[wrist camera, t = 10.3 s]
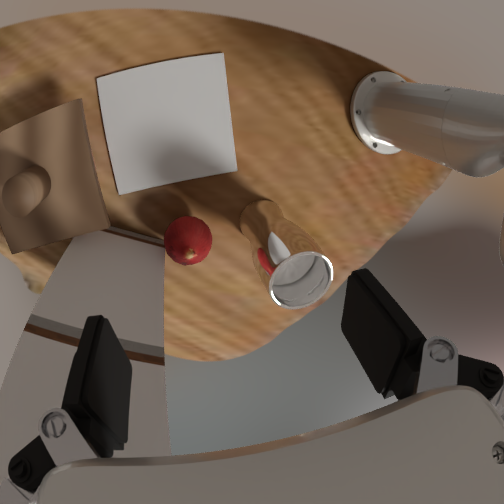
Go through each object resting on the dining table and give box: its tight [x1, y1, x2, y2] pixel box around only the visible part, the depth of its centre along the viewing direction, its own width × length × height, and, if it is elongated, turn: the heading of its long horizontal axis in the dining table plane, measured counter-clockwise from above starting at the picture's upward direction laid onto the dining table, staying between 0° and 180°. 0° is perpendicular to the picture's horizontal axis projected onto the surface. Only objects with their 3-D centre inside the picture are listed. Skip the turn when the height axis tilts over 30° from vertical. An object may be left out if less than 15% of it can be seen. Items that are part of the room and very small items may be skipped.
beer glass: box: [239, 200, 333, 309], centre depth 34 cm, size 7×7×15 cm
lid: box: [0, 99, 111, 254], centre depth 23 cm, size 14×14×6 cm
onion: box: [164, 216, 212, 265], centre depth 35 cm, size 6×6×8 cm
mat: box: [97, 53, 237, 195], centre depth 31 cm, size 15×15×1 cm
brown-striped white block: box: [0, 226, 172, 485], centre depth 23 cm, size 11×11×35 cm
